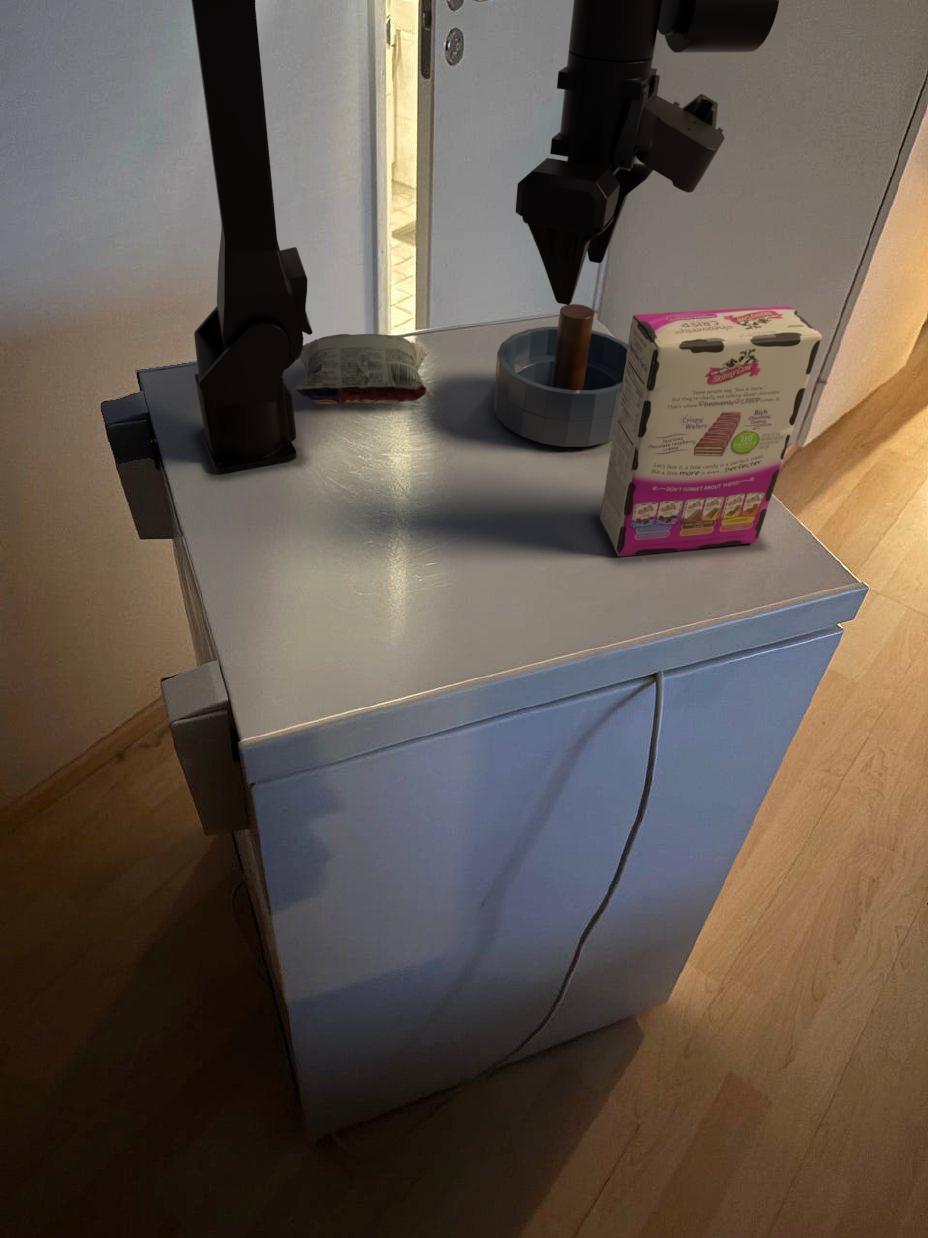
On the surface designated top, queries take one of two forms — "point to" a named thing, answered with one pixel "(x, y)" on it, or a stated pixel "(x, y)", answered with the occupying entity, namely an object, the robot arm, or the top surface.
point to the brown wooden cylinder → (572, 347)
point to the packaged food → (363, 369)
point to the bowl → (558, 390)
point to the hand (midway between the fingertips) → (580, 281)
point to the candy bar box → (703, 426)
